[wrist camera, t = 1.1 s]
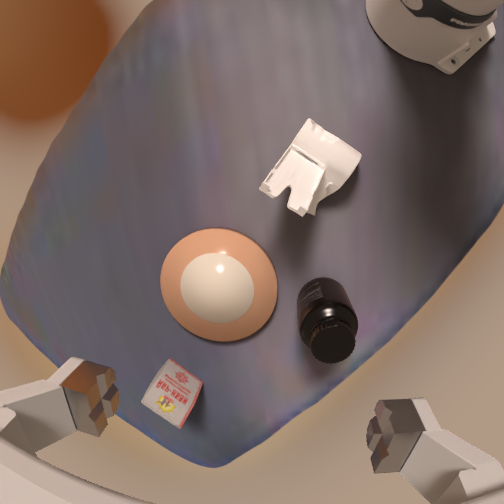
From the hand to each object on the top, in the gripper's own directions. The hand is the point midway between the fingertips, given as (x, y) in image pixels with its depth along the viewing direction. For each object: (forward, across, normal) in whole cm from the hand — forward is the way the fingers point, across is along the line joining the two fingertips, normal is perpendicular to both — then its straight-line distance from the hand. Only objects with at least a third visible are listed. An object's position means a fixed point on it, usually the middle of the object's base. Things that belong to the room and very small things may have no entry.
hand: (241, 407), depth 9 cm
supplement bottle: (+34, -7, +9) cm, 36 cm away
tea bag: (+34, +13, +26) cm, 45 cm away
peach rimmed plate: (+34, +7, +9) cm, 36 cm away
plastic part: (+34, -4, -8) cm, 35 cm away
